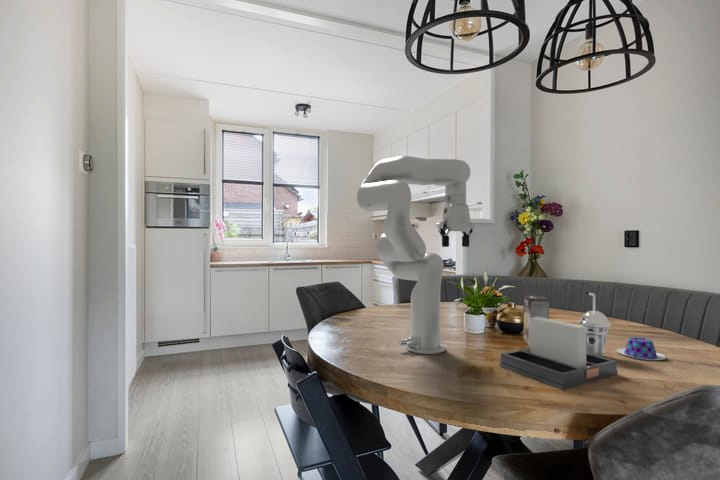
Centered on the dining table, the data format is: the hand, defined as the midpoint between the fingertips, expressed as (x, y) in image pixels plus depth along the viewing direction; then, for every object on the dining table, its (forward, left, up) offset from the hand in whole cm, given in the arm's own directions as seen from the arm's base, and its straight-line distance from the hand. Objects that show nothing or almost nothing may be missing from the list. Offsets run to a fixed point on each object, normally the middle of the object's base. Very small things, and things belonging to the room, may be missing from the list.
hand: (455, 246), depth 134 cm
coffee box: (+18, -20, -34) cm, 43 cm away
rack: (0, -40, -33) cm, 52 cm away
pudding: (+36, -43, -34) cm, 65 cm away
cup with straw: (+22, -37, -34) cm, 55 cm away
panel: (0, -40, -32) cm, 51 cm away
